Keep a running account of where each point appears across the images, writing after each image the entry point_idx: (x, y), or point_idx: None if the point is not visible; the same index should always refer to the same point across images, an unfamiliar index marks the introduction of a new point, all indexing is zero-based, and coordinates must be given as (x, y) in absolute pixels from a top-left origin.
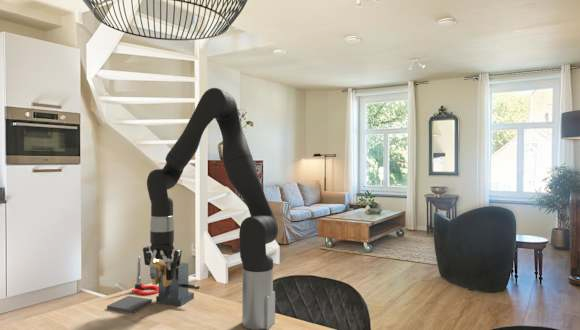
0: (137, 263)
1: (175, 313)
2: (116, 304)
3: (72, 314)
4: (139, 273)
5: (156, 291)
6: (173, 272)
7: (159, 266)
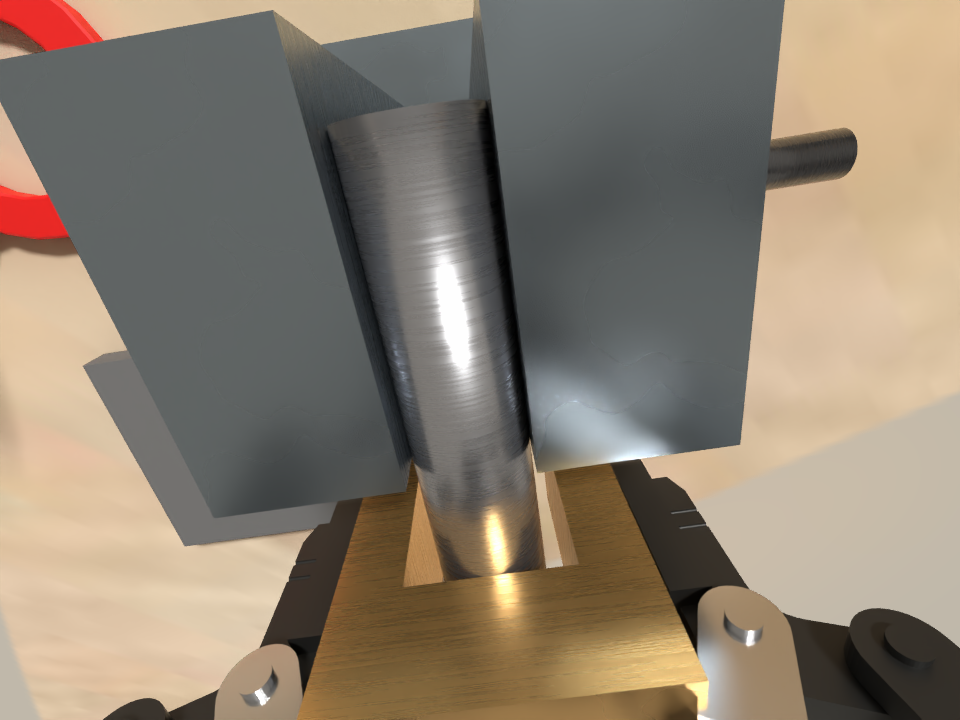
0: None
1: None
2: (208, 509)
3: (129, 634)
4: None
5: None
6: (718, 559)
7: None
